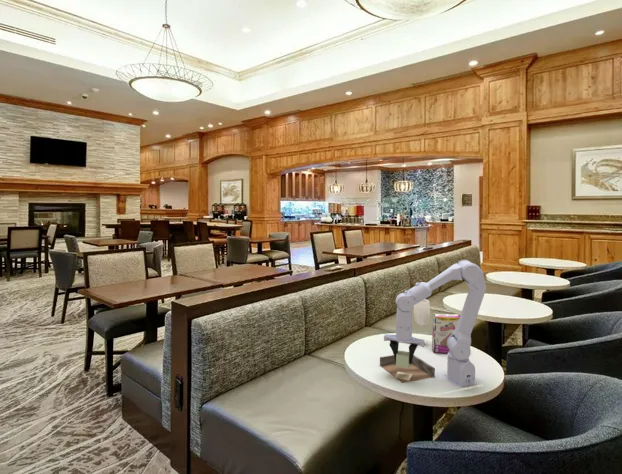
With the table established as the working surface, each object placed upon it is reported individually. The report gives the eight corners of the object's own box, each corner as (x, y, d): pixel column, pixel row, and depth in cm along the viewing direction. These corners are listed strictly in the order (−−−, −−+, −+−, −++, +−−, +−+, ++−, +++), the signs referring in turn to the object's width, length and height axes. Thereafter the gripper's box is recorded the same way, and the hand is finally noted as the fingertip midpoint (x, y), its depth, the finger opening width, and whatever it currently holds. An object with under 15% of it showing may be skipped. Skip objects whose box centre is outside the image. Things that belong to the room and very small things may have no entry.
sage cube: (410, 363, 142) (411, 352, 142) (408, 368, 138) (408, 356, 138) (398, 361, 144) (399, 350, 144) (396, 366, 140) (396, 354, 140)
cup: (411, 342, 179) (411, 298, 177) (426, 341, 179) (426, 298, 177) (416, 347, 172) (416, 302, 170) (431, 347, 172) (432, 302, 170)
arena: (434, 378, 141) (434, 368, 141) (400, 384, 136) (401, 374, 136) (409, 361, 156) (410, 352, 156) (378, 367, 151) (379, 357, 151)
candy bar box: (434, 353, 165) (434, 316, 163) (431, 349, 170) (432, 313, 168) (460, 354, 164) (461, 317, 162) (457, 350, 169) (458, 313, 167)
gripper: (381, 326, 140) (381, 362, 141) (422, 332, 133) (421, 369, 135) (386, 321, 146) (386, 355, 147) (425, 326, 140) (424, 362, 141)
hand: (403, 361), depth 141 cm, fingers closed on sage cube, 4 cm apart
